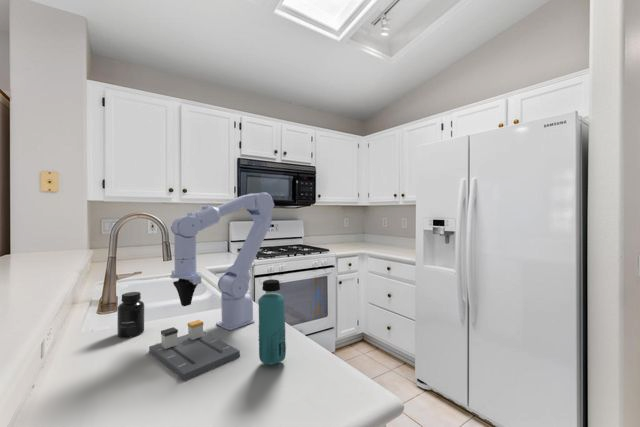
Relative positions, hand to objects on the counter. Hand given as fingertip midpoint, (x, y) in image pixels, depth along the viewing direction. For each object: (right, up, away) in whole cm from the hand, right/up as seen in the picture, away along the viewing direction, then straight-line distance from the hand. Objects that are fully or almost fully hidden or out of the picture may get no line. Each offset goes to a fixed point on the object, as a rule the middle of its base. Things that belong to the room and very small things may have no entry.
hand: (186, 305), depth 87 cm
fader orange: (+4, -8, -4) cm, 9 cm away
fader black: (0, -8, -9) cm, 12 cm away
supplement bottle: (-18, -10, +3) cm, 21 cm away
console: (+6, -10, -10) cm, 15 cm away
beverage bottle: (+27, -10, -15) cm, 33 cm away
